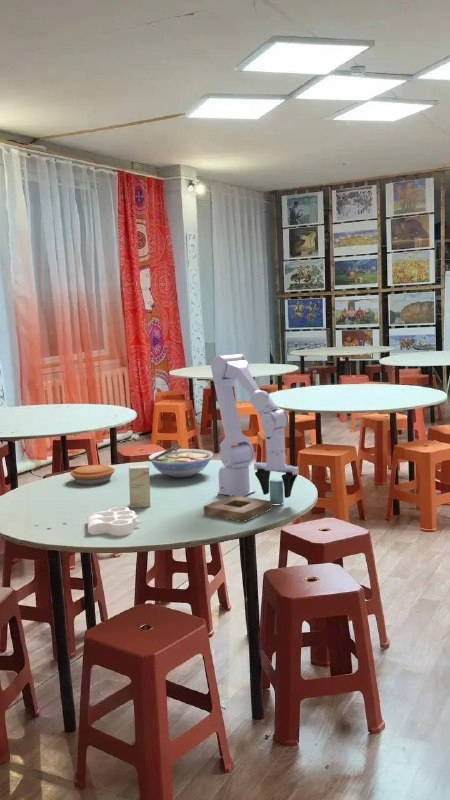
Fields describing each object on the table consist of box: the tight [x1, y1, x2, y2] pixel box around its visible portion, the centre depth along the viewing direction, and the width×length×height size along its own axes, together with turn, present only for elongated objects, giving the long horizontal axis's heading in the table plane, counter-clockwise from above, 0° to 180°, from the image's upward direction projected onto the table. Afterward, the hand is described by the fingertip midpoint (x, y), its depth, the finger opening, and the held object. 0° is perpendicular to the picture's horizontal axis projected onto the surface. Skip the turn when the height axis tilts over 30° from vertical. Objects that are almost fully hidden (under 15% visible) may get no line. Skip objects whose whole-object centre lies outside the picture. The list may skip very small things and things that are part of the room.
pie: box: [69, 464, 116, 486], centre depth 252 cm, size 16×16×5 cm
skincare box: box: [128, 464, 151, 509], centre depth 218 cm, size 6×4×12 cm
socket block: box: [203, 495, 273, 522], centre depth 208 cm, size 14×14×2 cm
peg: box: [269, 478, 284, 504], centre depth 215 cm, size 4×4×7 cm
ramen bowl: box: [148, 445, 214, 479], centre depth 255 cm, size 25×23×8 cm
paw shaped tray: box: [87, 506, 143, 537], centre depth 198 cm, size 3×18×15 cm
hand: (276, 495), depth 215 cm, fingers open, 7 cm apart
